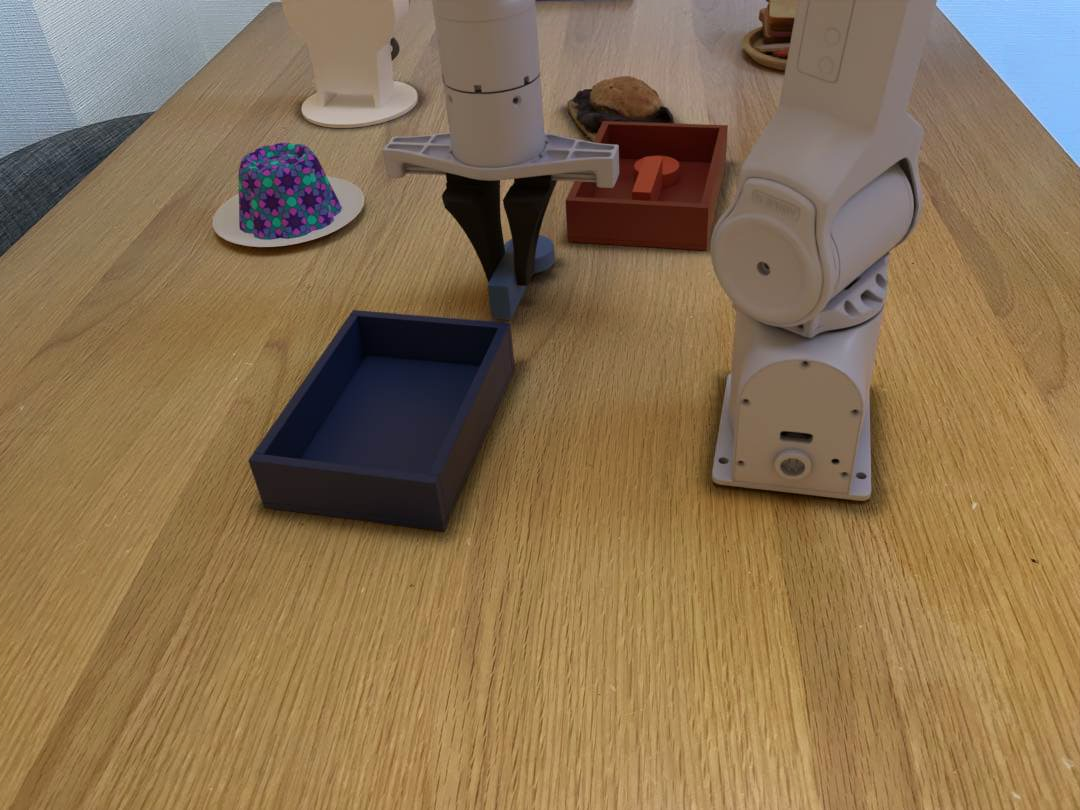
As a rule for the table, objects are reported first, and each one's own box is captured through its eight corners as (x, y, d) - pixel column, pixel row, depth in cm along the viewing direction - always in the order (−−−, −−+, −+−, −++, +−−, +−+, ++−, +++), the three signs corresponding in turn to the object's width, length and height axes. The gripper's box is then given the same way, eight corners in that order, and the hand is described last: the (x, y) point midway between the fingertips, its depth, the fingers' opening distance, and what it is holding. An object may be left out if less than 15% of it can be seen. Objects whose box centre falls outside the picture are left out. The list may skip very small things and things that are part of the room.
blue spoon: (527, 321, 64) (524, 287, 63) (474, 317, 65) (470, 283, 63) (559, 250, 71) (557, 217, 70) (511, 247, 72) (508, 215, 70)
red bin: (706, 250, 71) (708, 207, 69) (567, 241, 73) (565, 200, 71) (725, 164, 81) (727, 124, 79) (603, 159, 84) (602, 120, 82)
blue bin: (444, 531, 51) (435, 483, 48) (263, 507, 53) (247, 460, 51) (515, 368, 61) (510, 322, 59) (362, 353, 64) (352, 309, 61)
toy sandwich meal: (732, 73, 97) (735, 23, 94) (750, 27, 107) (754, -19, 104) (865, 78, 94) (872, 27, 91) (871, 31, 104) (878, -17, 101)
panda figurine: (439, 84, 100) (418, -77, 91) (400, 130, 91) (372, -42, 82) (330, 81, 103) (299, -76, 93) (282, 125, 94) (242, -42, 85)
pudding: (296, 269, 73) (279, 204, 69) (182, 236, 78) (162, 174, 75) (396, 199, 80) (385, 138, 77) (287, 173, 86) (272, 115, 82)
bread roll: (561, 109, 93) (558, 70, 91) (646, 94, 94) (645, 56, 92) (595, 153, 85) (593, 111, 83) (687, 136, 86) (688, 95, 84)
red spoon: (665, 225, 73) (665, 193, 72) (617, 222, 74) (616, 190, 72) (681, 170, 80) (682, 139, 79) (638, 168, 81) (637, 138, 79)
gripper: (626, 53, 59) (629, 253, 67) (398, 50, 62) (428, 240, 71) (604, 99, 54) (610, 309, 62) (356, 92, 57) (393, 293, 65)
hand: (511, 277), depth 66 cm, fingers closed on blue spoon
